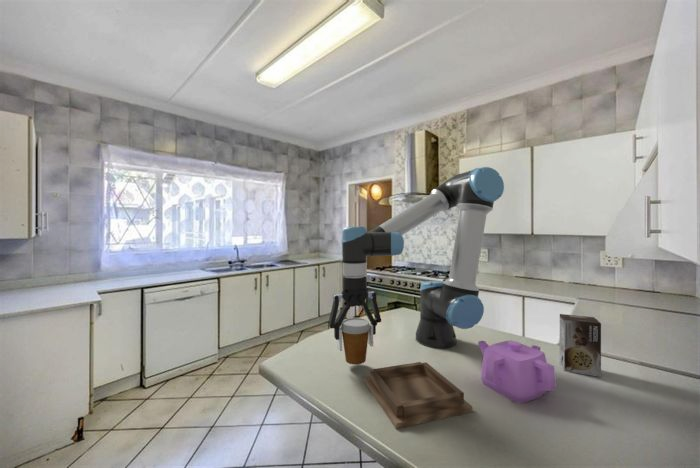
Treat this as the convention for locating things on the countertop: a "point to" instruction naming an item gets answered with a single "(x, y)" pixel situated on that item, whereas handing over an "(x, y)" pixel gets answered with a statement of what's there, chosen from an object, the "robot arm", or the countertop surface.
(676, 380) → the countertop surface
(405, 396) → the cup caddy
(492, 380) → the teakettle
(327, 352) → the countertop surface
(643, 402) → the countertop surface
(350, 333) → the disposable coffee cup
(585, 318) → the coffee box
